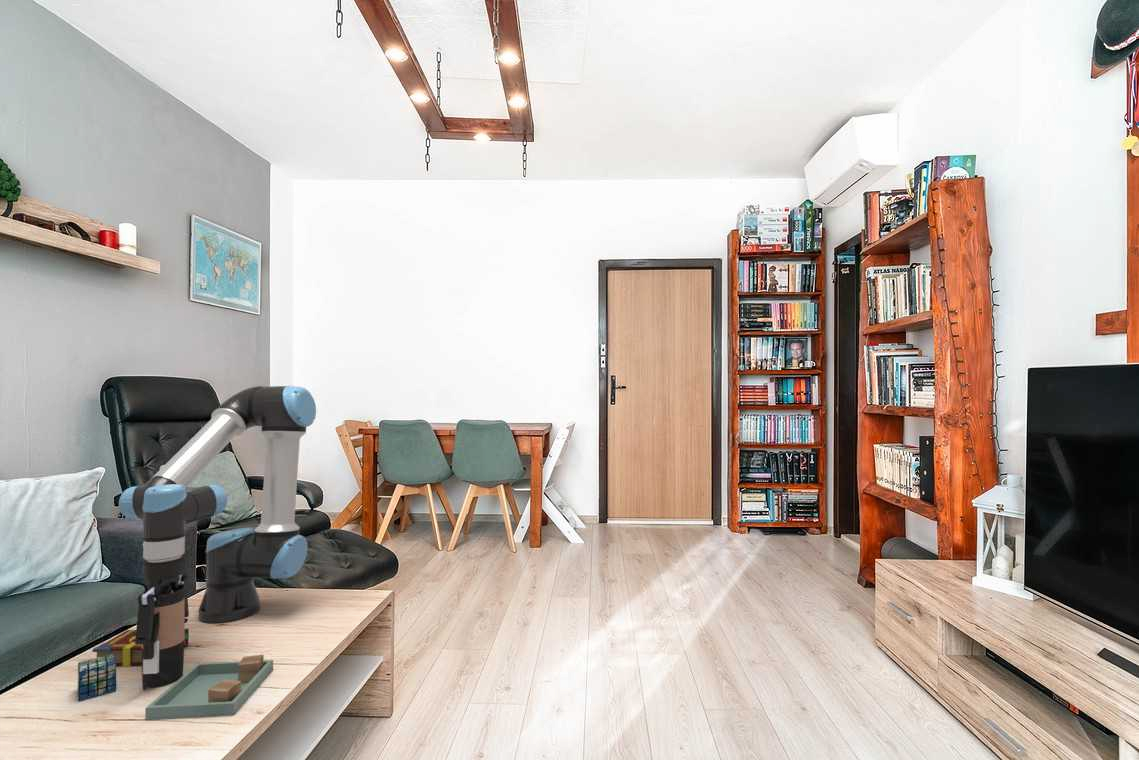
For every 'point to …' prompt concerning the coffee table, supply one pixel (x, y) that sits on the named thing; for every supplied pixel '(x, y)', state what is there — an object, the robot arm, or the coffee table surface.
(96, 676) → the puzzle
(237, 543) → the robot arm
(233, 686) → the walnut block
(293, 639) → the coffee table surface
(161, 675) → the travel mug
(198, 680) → the tray
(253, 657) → the walnut block
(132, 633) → the decorative book
